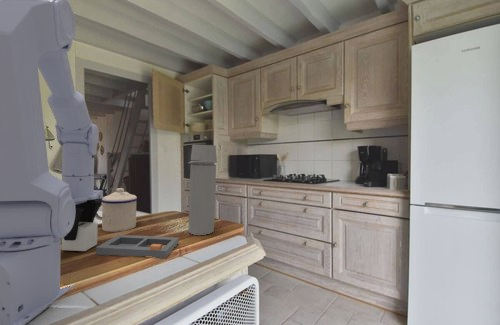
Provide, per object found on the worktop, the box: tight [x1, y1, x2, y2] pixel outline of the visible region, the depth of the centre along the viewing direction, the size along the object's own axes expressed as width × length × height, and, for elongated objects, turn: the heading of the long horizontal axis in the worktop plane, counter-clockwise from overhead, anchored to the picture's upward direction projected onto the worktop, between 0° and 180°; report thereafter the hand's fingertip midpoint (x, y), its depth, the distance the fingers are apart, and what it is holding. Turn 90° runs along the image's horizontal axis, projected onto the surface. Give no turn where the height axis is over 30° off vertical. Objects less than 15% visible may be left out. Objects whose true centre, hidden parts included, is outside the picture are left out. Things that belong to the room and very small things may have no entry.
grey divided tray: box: [95, 234, 180, 260], centre depth 54 cm, size 8×15×3 cm, turn 88°
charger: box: [61, 221, 99, 252], centre depth 53 cm, size 4×5×5 cm
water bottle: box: [187, 144, 218, 236], centre depth 67 cm, size 9×8×25 cm
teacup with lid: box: [94, 187, 138, 233], centre depth 68 cm, size 12×9×12 cm
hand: (77, 236), depth 52 cm, fingers closed on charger, 4 cm apart
